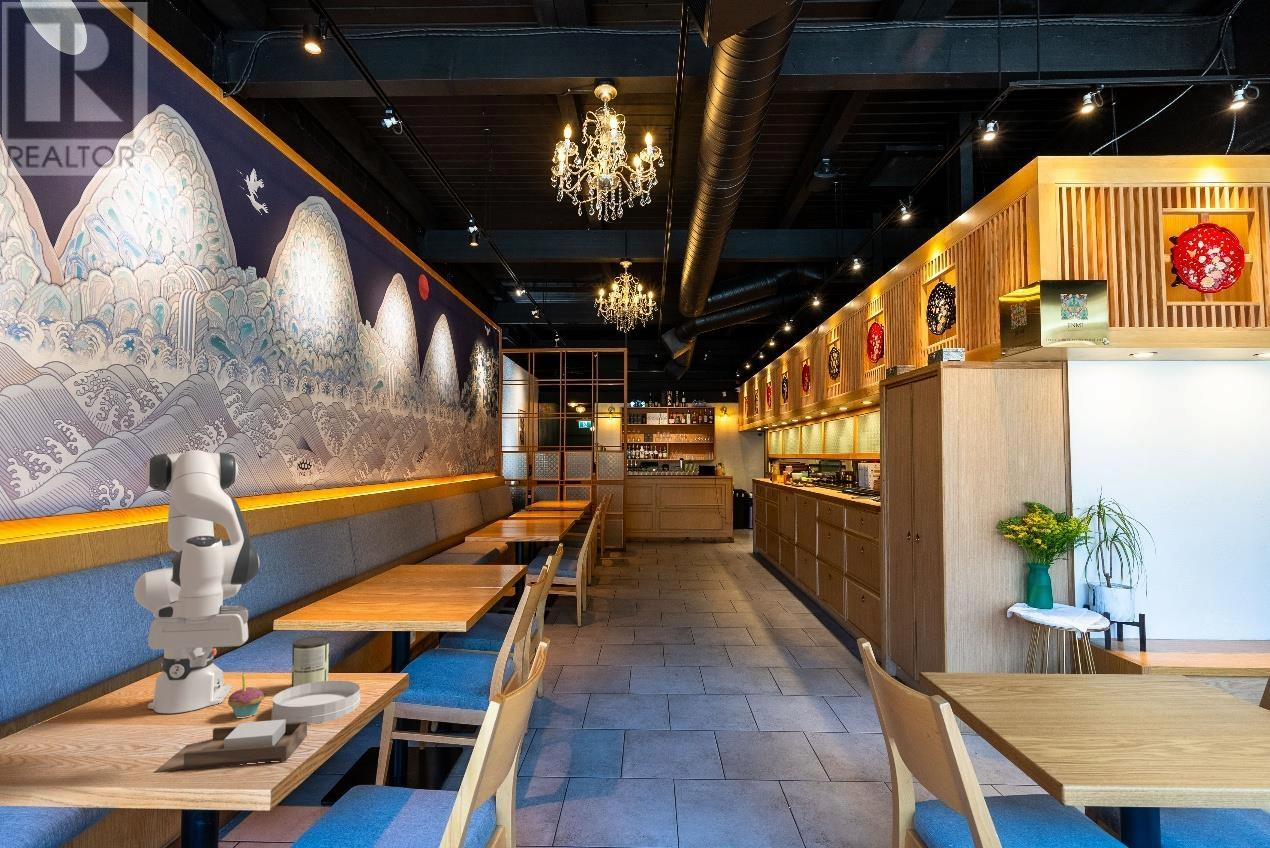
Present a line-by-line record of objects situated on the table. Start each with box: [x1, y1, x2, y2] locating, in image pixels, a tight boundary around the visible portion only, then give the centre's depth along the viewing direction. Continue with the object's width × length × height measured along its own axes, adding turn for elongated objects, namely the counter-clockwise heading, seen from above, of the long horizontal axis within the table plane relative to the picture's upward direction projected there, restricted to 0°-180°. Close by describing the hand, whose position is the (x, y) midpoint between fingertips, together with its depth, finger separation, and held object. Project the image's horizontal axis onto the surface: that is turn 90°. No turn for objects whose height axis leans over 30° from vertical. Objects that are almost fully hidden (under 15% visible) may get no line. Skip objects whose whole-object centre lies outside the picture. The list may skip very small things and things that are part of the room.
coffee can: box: [291, 635, 330, 687], centre depth 202 cm, size 10×10×14 cm
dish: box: [271, 680, 361, 724], centre depth 182 cm, size 22×22×5 cm
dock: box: [153, 721, 308, 773], centre depth 154 cm, size 15×27×4 cm, turn 100°
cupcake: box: [227, 671, 265, 718], centre depth 179 cm, size 9×8×12 cm
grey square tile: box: [224, 719, 286, 749], centre depth 155 cm, size 10×10×4 cm
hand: (198, 666), depth 154 cm, fingers closed
